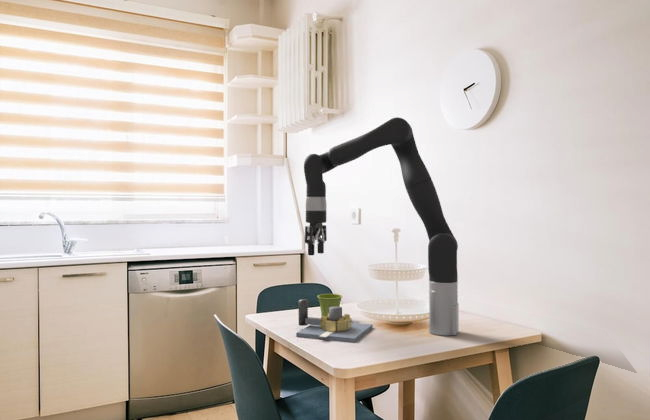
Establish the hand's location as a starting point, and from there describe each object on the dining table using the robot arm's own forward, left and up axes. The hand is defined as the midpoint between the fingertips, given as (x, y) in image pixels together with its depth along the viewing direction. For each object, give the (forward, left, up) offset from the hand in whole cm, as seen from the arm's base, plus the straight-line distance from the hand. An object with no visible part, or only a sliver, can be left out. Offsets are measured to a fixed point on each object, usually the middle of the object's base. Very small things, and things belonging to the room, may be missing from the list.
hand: (316, 254), depth 177 cm
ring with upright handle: (-7, +9, -24) cm, 26 cm away
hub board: (-11, +9, -25) cm, 29 cm away
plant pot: (-2, -9, -25) cm, 27 cm away
